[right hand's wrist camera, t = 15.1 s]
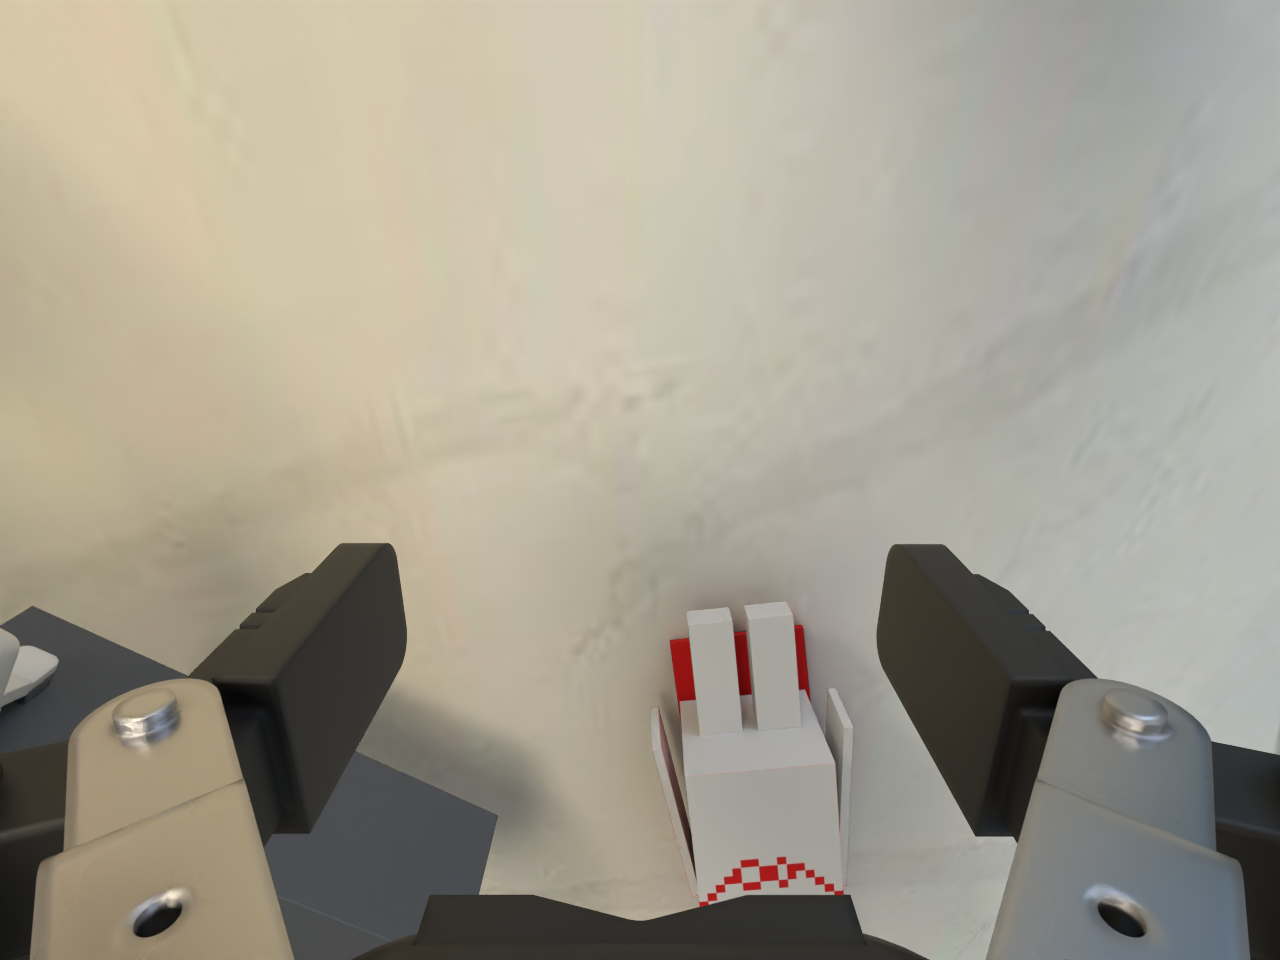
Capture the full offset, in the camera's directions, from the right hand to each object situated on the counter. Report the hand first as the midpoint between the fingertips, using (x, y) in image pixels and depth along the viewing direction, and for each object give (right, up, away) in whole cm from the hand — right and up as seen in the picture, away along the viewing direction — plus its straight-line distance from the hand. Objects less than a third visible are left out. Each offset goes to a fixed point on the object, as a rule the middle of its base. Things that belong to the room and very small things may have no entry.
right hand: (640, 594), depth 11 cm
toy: (+8, -19, +40) cm, 45 cm away
